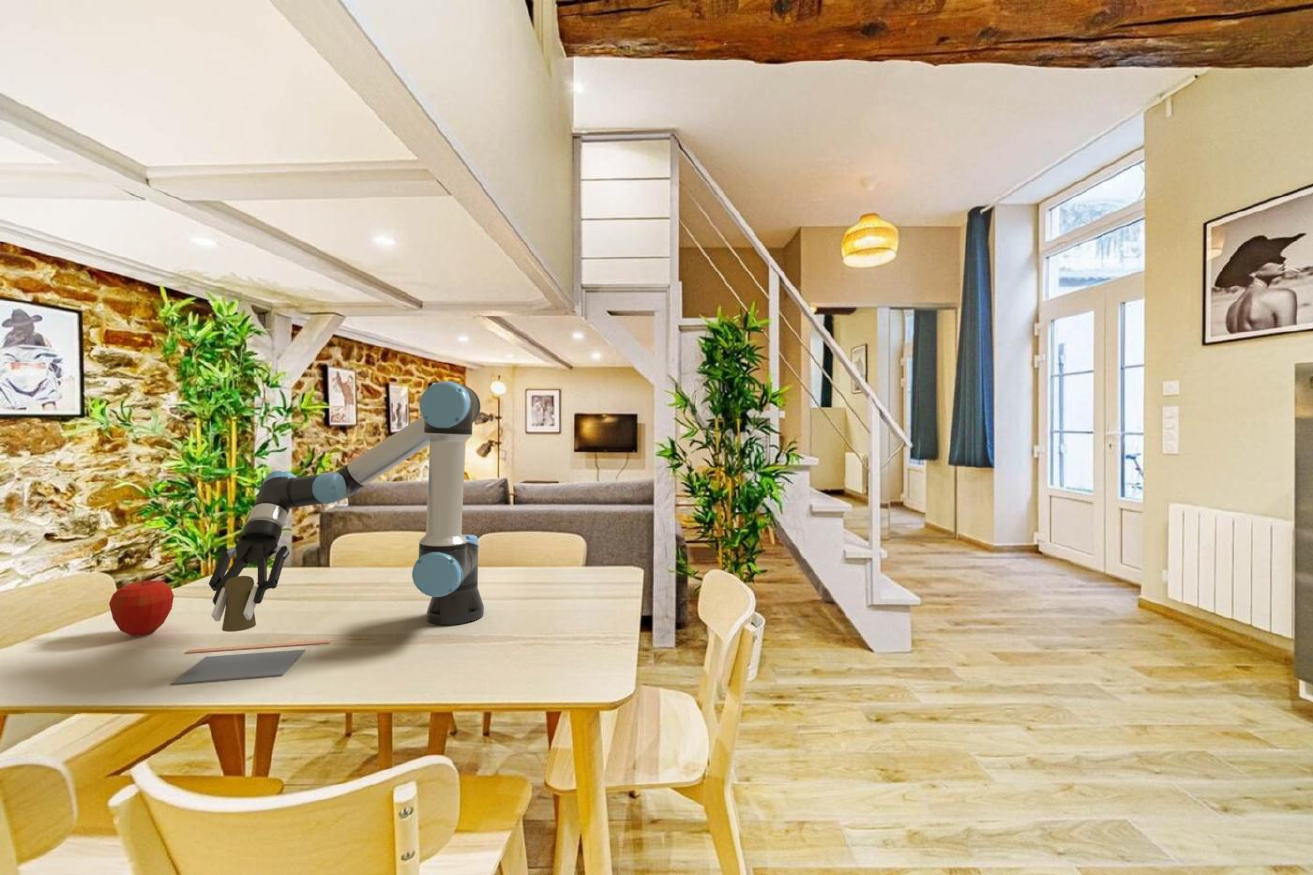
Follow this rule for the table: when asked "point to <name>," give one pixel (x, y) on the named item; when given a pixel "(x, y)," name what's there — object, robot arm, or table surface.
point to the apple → (141, 606)
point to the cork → (238, 604)
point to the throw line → (258, 646)
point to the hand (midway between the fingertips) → (231, 617)
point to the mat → (239, 667)
